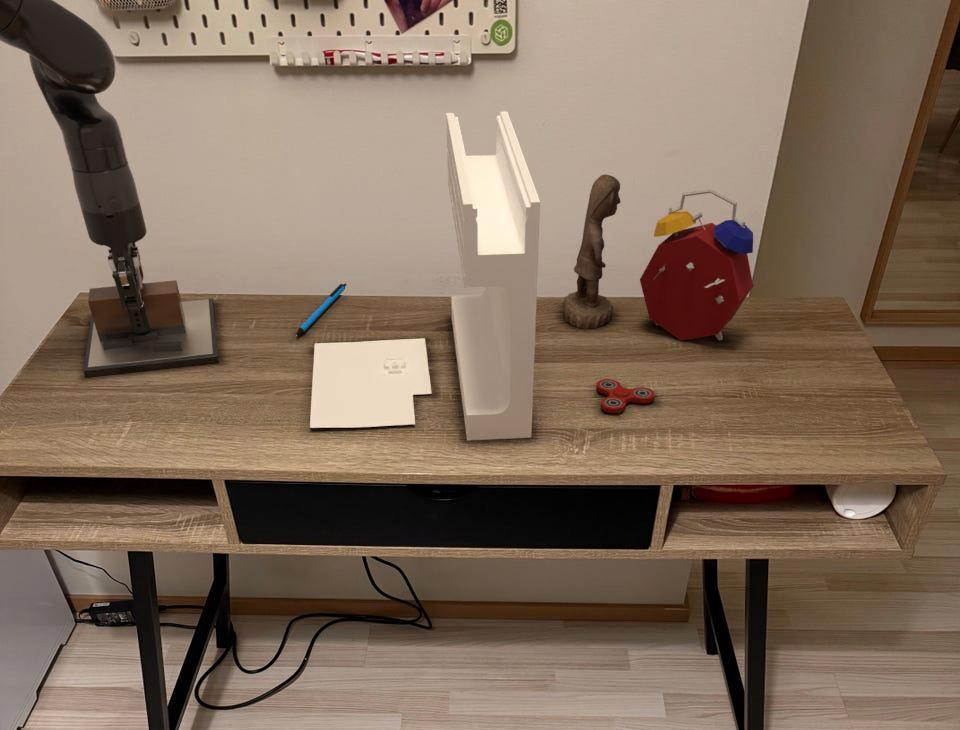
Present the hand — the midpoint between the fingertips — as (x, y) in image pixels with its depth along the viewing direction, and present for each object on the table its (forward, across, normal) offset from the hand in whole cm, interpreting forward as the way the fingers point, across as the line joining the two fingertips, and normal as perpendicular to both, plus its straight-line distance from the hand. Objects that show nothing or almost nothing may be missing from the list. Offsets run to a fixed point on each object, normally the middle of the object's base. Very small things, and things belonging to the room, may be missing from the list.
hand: (141, 323), depth 135 cm
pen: (+2, -3, +26) cm, 26 cm away
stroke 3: (+1, +7, +4) cm, 8 cm away
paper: (+2, +21, +30) cm, 37 cm away
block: (+2, +22, +46) cm, 51 cm away
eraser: (+1, 0, 0) cm, 1 cm away
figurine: (+3, +8, +65) cm, 66 cm away
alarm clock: (+3, +18, +77) cm, 79 cm away
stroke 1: (+1, +4, -3) cm, 5 cm away
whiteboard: (+2, 0, +1) cm, 3 cm away
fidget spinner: (+2, +34, +61) cm, 70 cm away
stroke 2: (+1, +3, 0) cm, 3 cm away
